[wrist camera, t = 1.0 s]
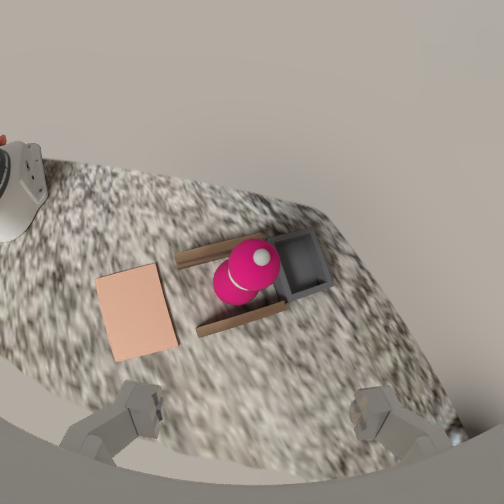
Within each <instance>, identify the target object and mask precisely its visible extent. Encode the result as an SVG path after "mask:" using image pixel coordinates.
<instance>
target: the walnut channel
mask: <svg viewBox="0 0 504 504" xmlns="http://www.w3.org/2000/svg"><path fill="white" fill-rule="evenodd" d="M252 238H255V239H262V240H263V237H262V234H261V232H259V233H255V234H251V235H247V236H243V237H239V238H235V239H231V240H227V241H223V242H219V243H215V244H211V245H207V246H203V247H199V248H195V249H191V250H187V251H183V252H179V253H175V257H176V263H177V267H178V270H180V269H184V268H188V267H191V266H195V265H199V264H203V263H206V262H210V261H214V260H218V259H222V258H225V257H229V256H230V254H231V252H232V250H233V249H234V248H235V247H236V246H237V245H238V244H239V243H240V242H242V241H244V240H247V239H252ZM285 310H287V308H286V305H285V302H284V301H281V302H278V303H275V304H272V305H269V306H266V307H263V308H260V309H257V310H254V311H251V312H247V313H244V314H241V315H238V316H235V317H231V318H228V319H225V320H222V321H218V322H215V323H212V324H208V325H205V326H201V327H198V328H195V329H196V332H197V335H198V337H199V338H200V337H204V336H207V335H211V334H214V333H217V332H220V331H224V330H227V329H230V328H233V327H237V326H240V325H243V324H246V323H249V322H252V321H255V320H258V319H261V318H264V317H267V316H270V315H273V314H276V313H279V312H282V311H285Z"/></svg>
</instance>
